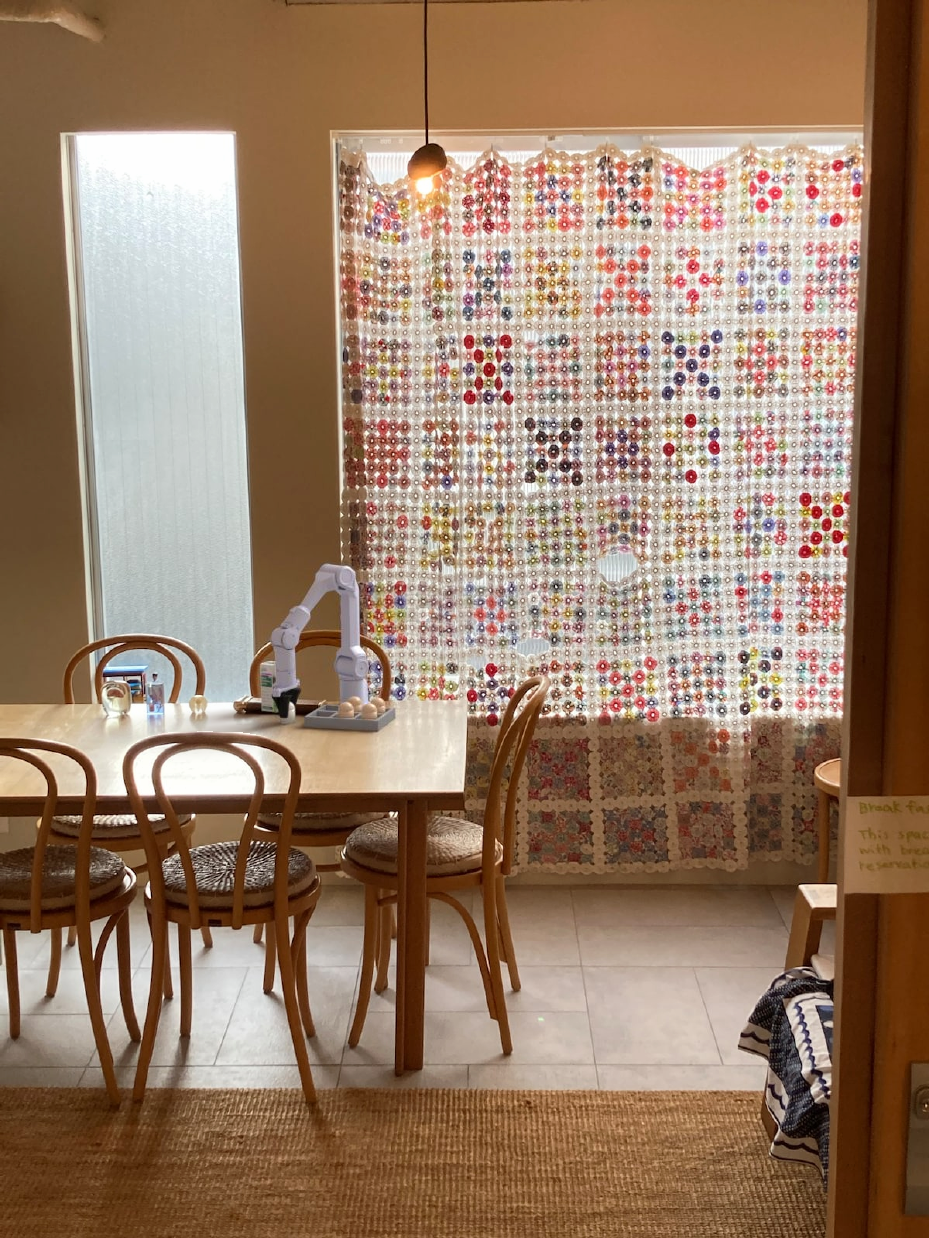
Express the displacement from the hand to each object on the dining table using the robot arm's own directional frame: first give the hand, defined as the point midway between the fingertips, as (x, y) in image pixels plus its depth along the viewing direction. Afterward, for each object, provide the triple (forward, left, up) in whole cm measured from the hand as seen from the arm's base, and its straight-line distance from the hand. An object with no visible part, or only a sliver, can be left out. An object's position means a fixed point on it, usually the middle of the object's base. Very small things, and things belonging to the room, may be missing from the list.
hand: (287, 715), depth 332 cm
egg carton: (-4, +18, -2) cm, 18 cm away
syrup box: (-13, -10, -2) cm, 17 cm away
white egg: (0, 0, -2) cm, 2 cm away
